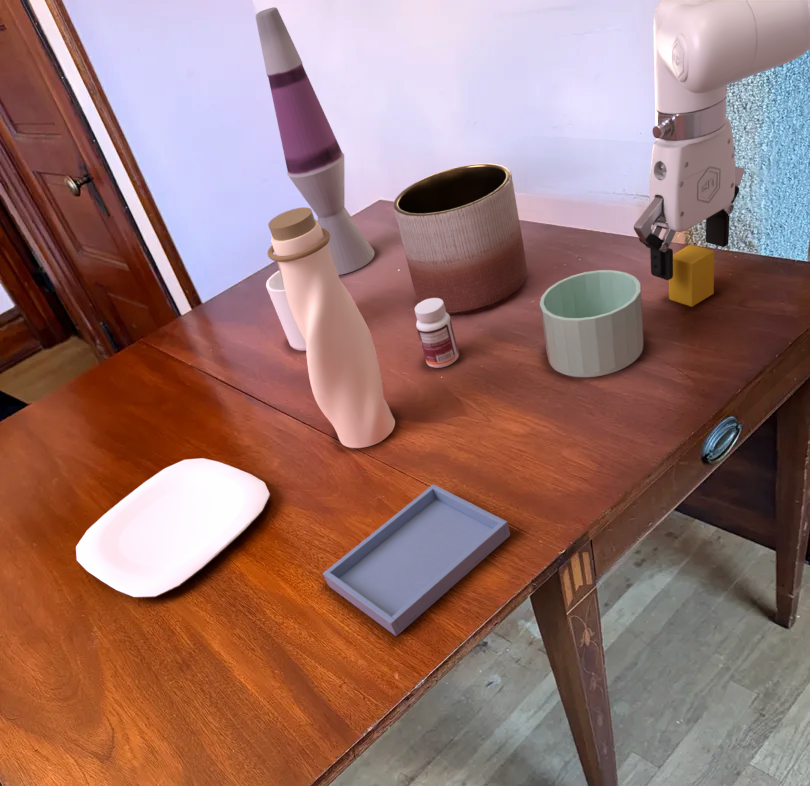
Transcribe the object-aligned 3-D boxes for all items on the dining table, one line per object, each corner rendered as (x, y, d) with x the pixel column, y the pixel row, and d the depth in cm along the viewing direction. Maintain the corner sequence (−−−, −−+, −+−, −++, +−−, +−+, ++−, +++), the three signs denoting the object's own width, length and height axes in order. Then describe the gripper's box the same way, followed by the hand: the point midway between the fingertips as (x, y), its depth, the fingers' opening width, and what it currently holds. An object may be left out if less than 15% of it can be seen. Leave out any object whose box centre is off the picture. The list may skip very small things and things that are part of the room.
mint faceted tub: (643, 321, 99) (641, 264, 93) (643, 372, 91) (640, 312, 85) (552, 332, 103) (544, 277, 97) (544, 381, 95) (535, 325, 89)
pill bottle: (434, 349, 108) (420, 296, 102) (464, 350, 105) (451, 295, 100) (420, 368, 105) (405, 314, 99) (451, 369, 103) (437, 314, 97)
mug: (332, 351, 116) (309, 289, 109) (279, 352, 120) (254, 293, 113) (364, 308, 123) (345, 249, 116) (313, 311, 128) (292, 254, 121)
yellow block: (690, 286, 102) (690, 244, 98) (713, 293, 99) (714, 250, 95) (668, 299, 101) (667, 257, 97) (691, 307, 98) (691, 264, 94)
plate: (63, 559, 94) (56, 550, 93) (191, 457, 104) (186, 447, 103) (157, 621, 81) (150, 611, 80) (293, 497, 91) (288, 487, 90)
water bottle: (314, 436, 100) (227, 231, 81) (363, 400, 103) (290, 195, 84) (362, 460, 93) (279, 242, 74) (412, 420, 96) (345, 203, 78)
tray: (437, 497, 84) (433, 483, 83) (510, 535, 77) (507, 521, 75) (328, 586, 78) (322, 573, 77) (396, 636, 71) (390, 623, 70)
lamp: (318, 281, 136) (227, 28, 110) (321, 257, 144) (237, 15, 117) (374, 266, 134) (296, 5, 108) (375, 243, 142) (302, -7, 116)
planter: (512, 251, 124) (496, 152, 114) (542, 294, 111) (526, 187, 100) (410, 284, 125) (385, 188, 115) (427, 331, 112) (400, 228, 102)
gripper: (658, 153, 81) (662, 298, 92) (771, 92, 85) (761, 237, 96) (610, 145, 86) (618, 282, 98) (718, 87, 90) (714, 226, 102)
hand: (689, 260), depth 97 cm, fingers open, 9 cm apart
